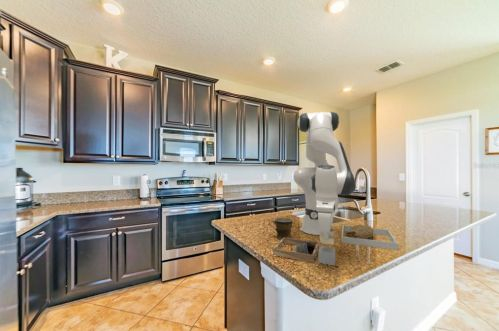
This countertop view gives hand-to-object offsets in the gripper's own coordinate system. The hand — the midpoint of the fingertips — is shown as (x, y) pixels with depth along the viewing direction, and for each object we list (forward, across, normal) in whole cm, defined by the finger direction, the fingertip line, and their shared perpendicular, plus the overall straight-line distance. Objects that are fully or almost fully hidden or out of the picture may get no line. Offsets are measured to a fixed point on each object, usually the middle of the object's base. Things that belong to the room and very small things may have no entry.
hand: (327, 237), depth 87 cm
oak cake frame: (+10, -5, -14) cm, 18 cm away
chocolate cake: (+10, -5, -10) cm, 15 cm away
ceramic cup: (+10, -22, -26) cm, 36 cm away
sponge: (+10, -40, +14) cm, 44 cm away
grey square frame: (+10, -39, +17) cm, 44 cm away
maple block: (+2, 0, 0) cm, 2 cm away
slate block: (+10, 0, 0) cm, 10 cm away
